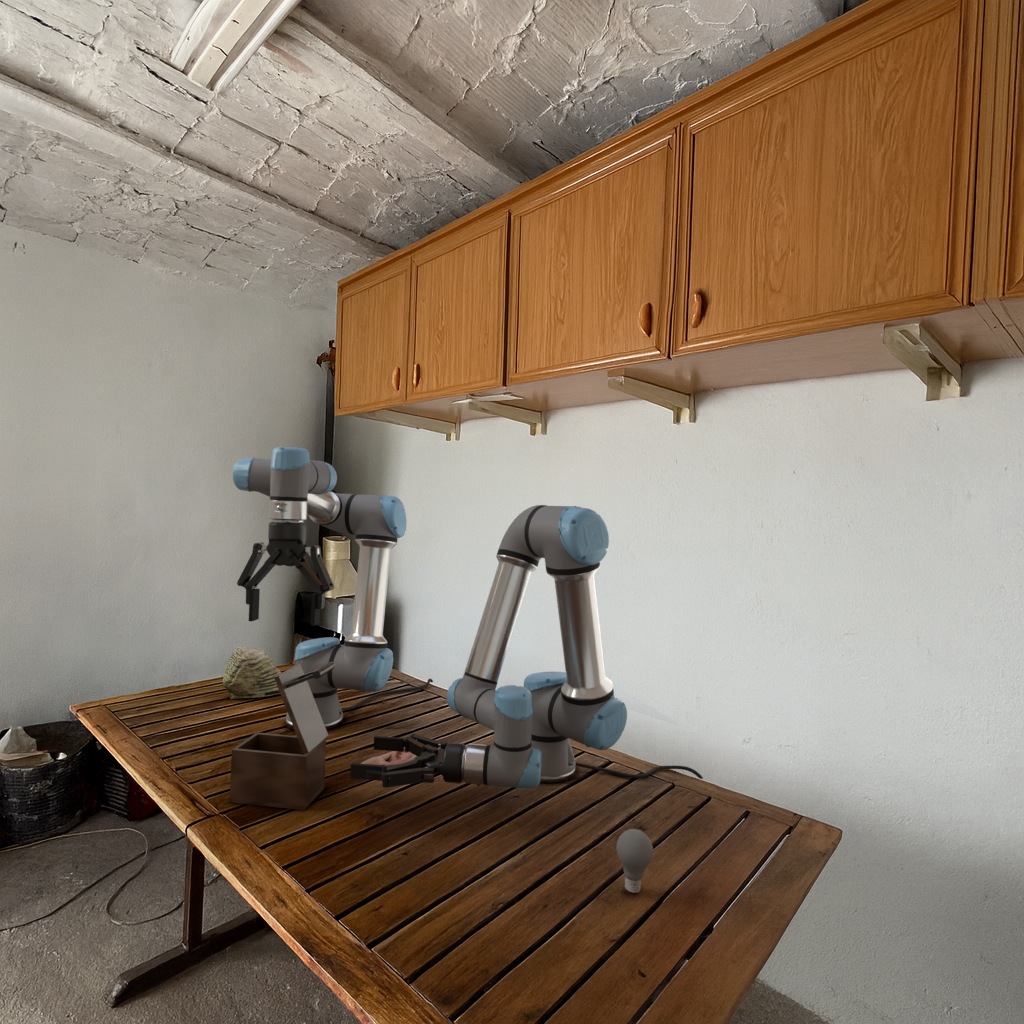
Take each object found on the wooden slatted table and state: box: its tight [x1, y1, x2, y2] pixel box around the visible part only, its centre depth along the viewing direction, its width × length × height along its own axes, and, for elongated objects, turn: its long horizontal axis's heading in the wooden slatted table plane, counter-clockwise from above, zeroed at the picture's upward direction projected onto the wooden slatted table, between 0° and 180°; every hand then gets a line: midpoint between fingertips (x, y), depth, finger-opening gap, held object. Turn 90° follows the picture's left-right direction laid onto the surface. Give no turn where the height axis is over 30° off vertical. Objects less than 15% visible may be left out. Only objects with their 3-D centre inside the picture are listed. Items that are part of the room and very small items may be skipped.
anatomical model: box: [360, 747, 418, 767], centre depth 149 cm, size 13×4×12 cm
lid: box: [274, 662, 335, 754], centre depth 132 cm, size 17×10×9 cm
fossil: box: [222, 646, 282, 699], centre depth 198 cm, size 9×18×15 cm, turn 132°
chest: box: [229, 731, 327, 811], centre depth 134 cm, size 16×10×11 cm, turn 83°
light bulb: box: [615, 828, 654, 894], centre depth 106 cm, size 6×6×10 cm
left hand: (284, 622), depth 133 cm, fingers open, 13 cm apart
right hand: (363, 755), depth 131 cm, fingers open, 13 cm apart
